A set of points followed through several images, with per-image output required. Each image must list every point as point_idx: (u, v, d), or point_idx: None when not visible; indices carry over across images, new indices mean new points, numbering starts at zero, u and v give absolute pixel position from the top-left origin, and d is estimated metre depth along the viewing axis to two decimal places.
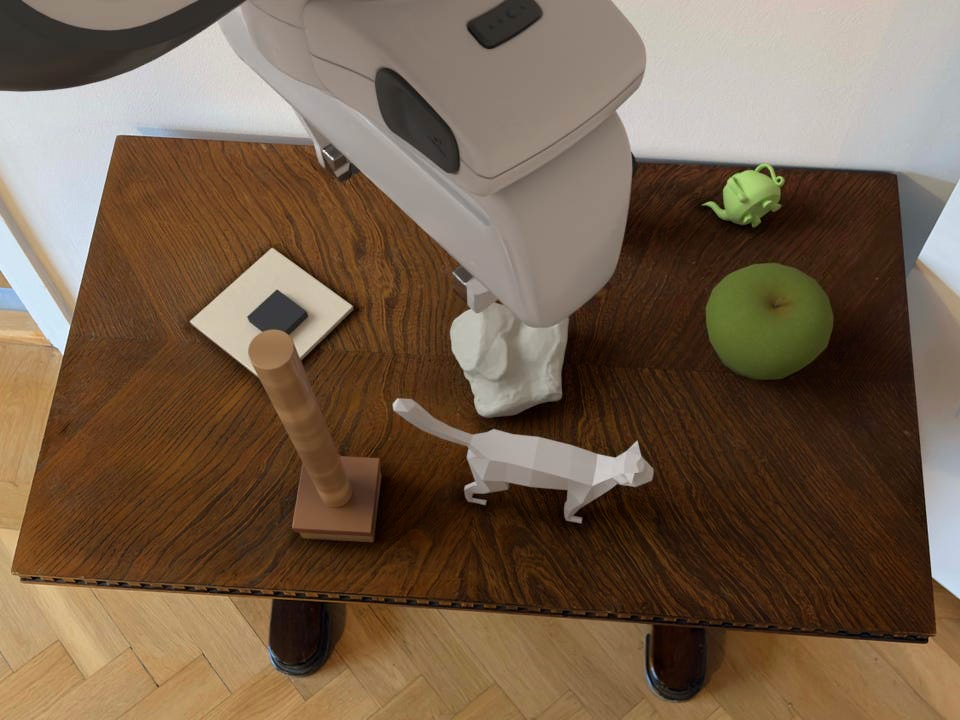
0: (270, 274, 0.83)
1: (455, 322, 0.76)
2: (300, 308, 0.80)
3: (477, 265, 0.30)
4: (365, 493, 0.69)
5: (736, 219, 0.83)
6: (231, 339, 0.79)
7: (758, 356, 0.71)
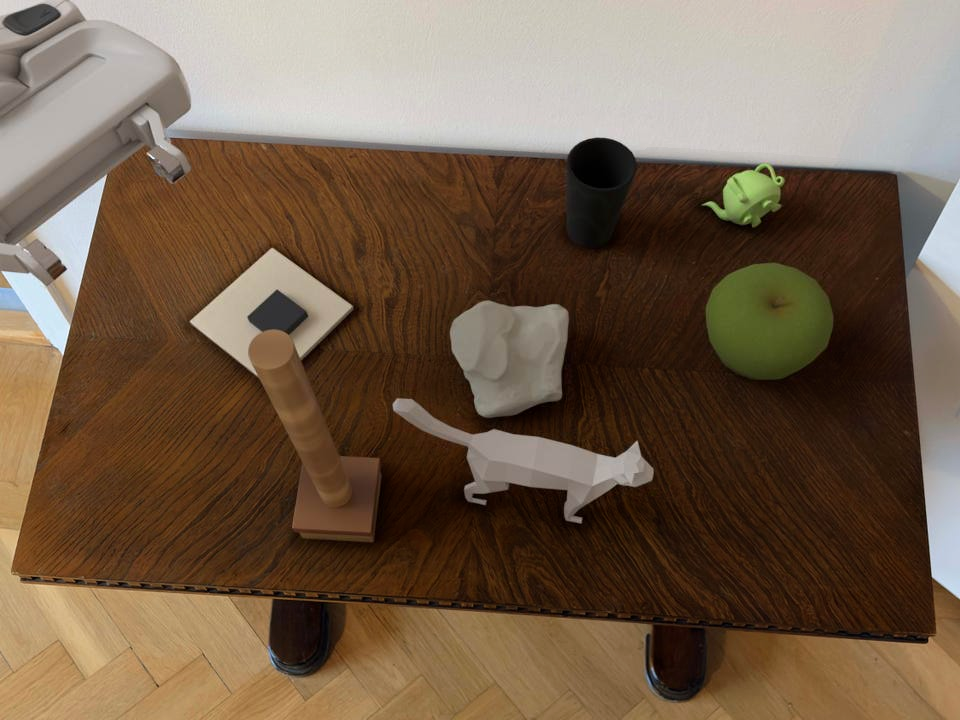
0: (270, 274, 0.83)
1: (455, 322, 0.76)
2: (300, 308, 0.80)
3: (127, 82, 0.52)
4: (365, 493, 0.69)
5: (736, 219, 0.83)
6: (231, 339, 0.79)
7: (758, 356, 0.71)
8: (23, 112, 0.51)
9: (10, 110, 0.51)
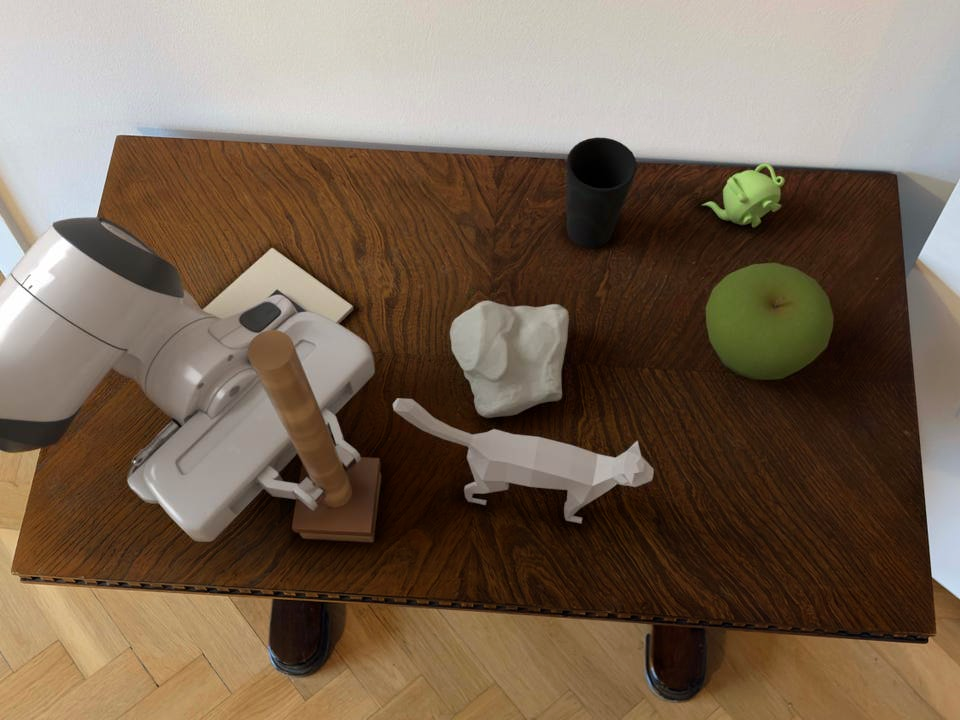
0: (270, 274, 0.83)
1: (455, 322, 0.76)
2: (300, 308, 0.80)
3: (335, 367, 0.68)
4: (365, 493, 0.69)
5: (736, 219, 0.83)
6: None
7: (758, 356, 0.71)
8: (258, 393, 0.67)
9: (248, 391, 0.67)
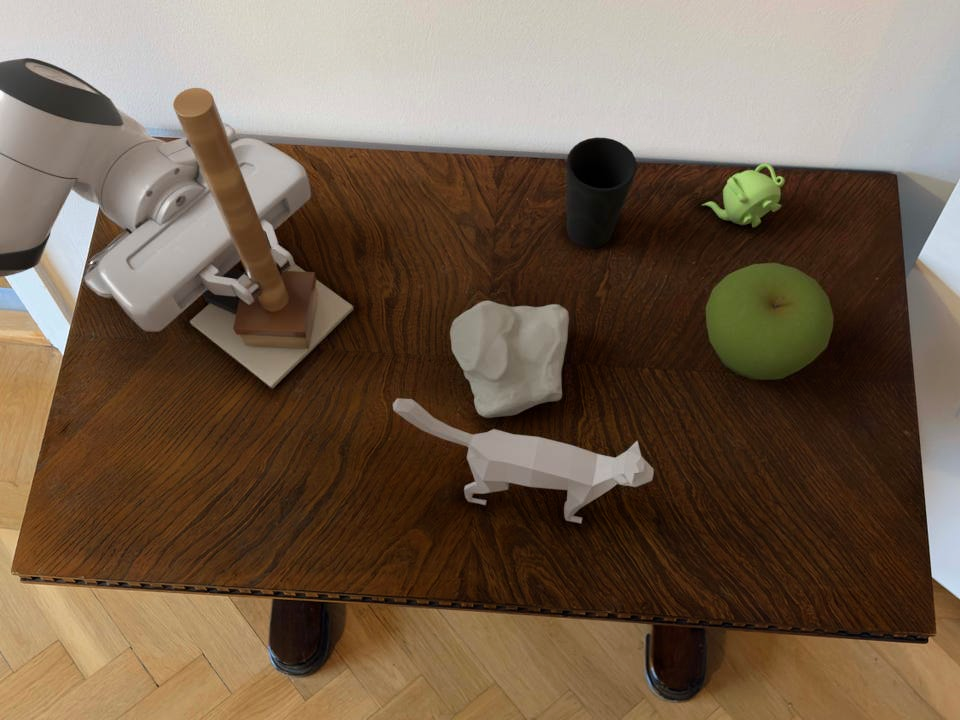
0: None
1: (455, 322, 0.76)
2: None
3: (272, 184, 0.76)
4: (300, 300, 0.77)
5: (736, 219, 0.83)
6: (231, 339, 0.79)
7: (758, 356, 0.71)
8: (203, 205, 0.75)
9: (193, 204, 0.75)
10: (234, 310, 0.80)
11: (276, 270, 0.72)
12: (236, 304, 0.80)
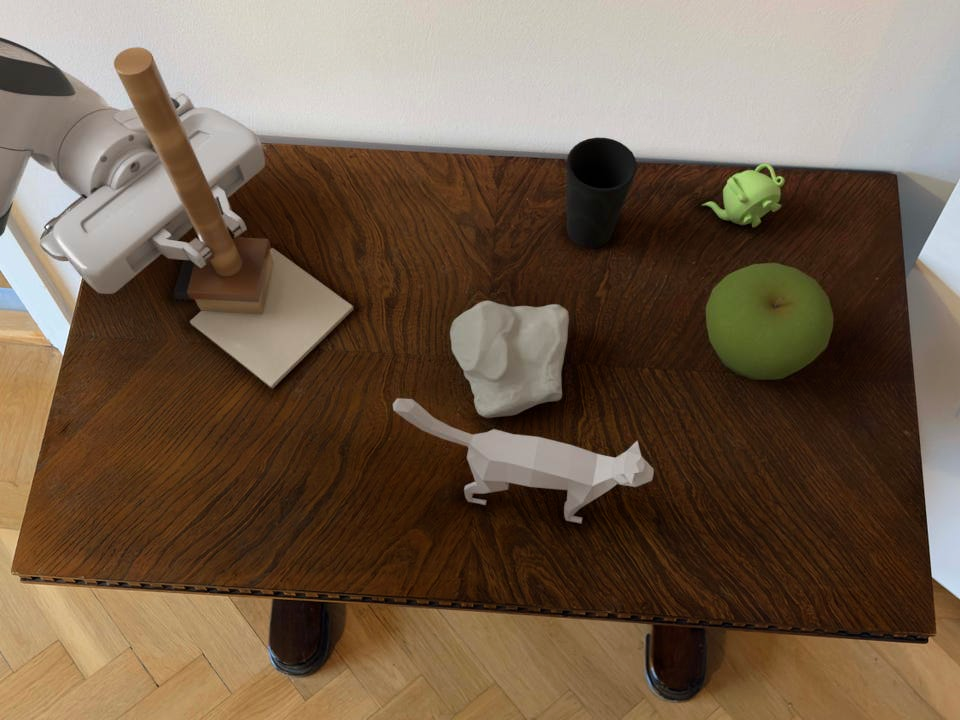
0: None
1: (455, 322, 0.76)
2: None
3: (226, 151, 0.77)
4: (253, 265, 0.79)
5: (736, 219, 0.83)
6: (231, 339, 0.79)
7: (758, 356, 0.71)
8: (157, 172, 0.77)
9: (148, 170, 0.77)
10: None
11: (227, 234, 0.74)
12: None
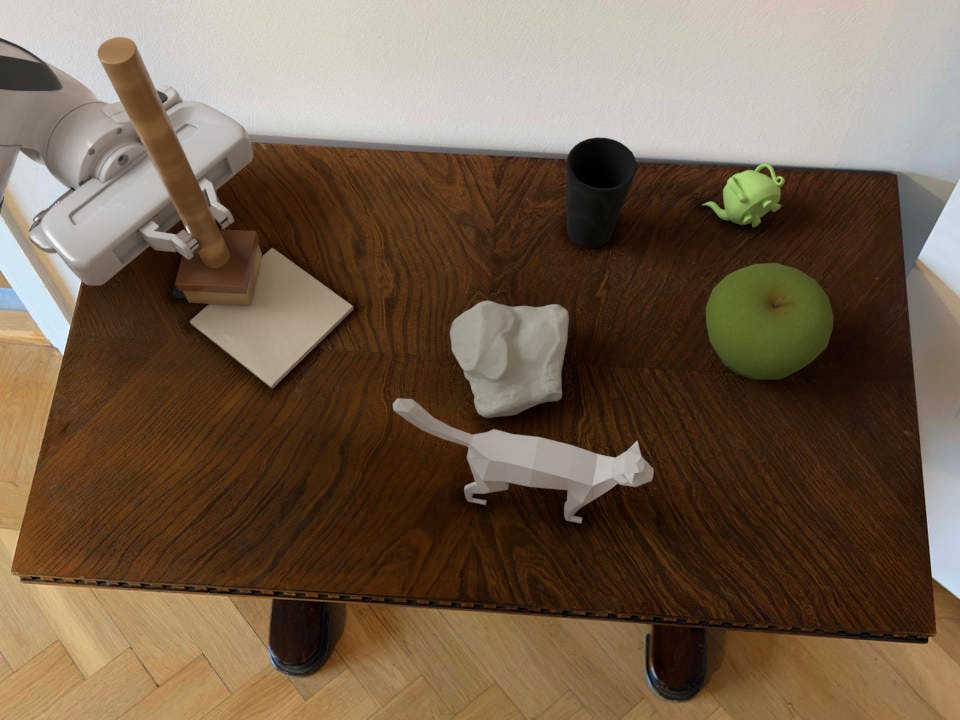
0: (270, 274, 0.83)
1: (455, 322, 0.76)
2: None
3: (213, 144, 0.78)
4: (241, 257, 0.79)
5: (736, 219, 0.83)
6: (231, 339, 0.79)
7: (758, 356, 0.71)
8: (145, 164, 0.77)
9: (136, 163, 0.77)
10: None
11: (214, 226, 0.74)
12: None
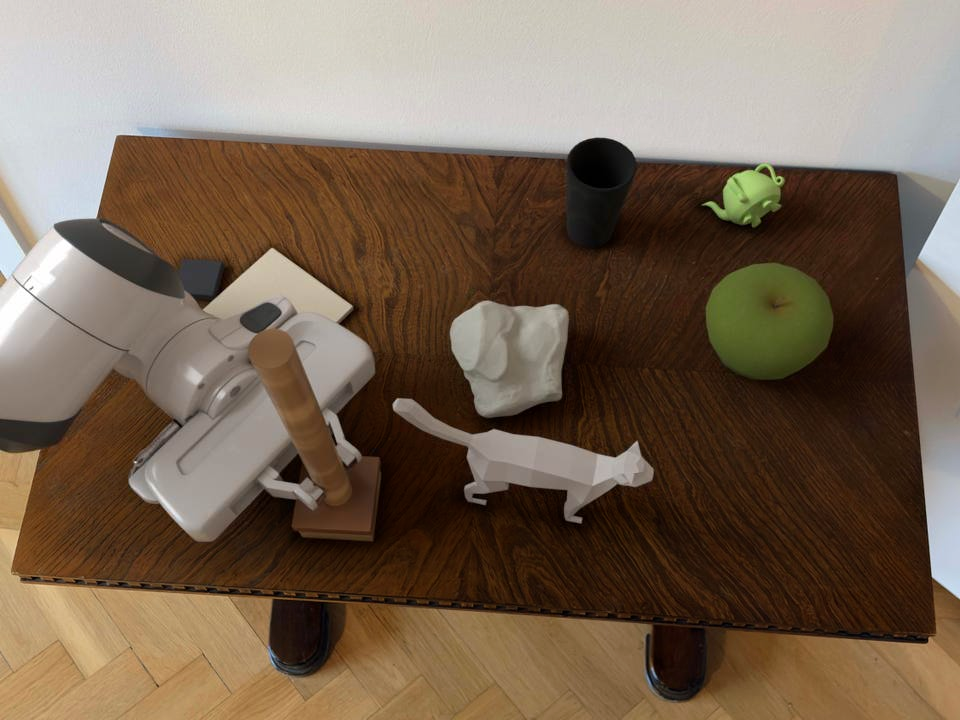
0: (270, 274, 0.83)
1: (455, 322, 0.76)
2: (215, 262, 0.83)
3: (335, 367, 0.68)
4: (365, 492, 0.69)
5: (736, 219, 0.83)
6: None
7: (758, 356, 0.71)
8: (259, 393, 0.67)
9: (249, 392, 0.67)
10: (208, 295, 0.81)
11: (342, 471, 0.65)
12: (208, 289, 0.81)
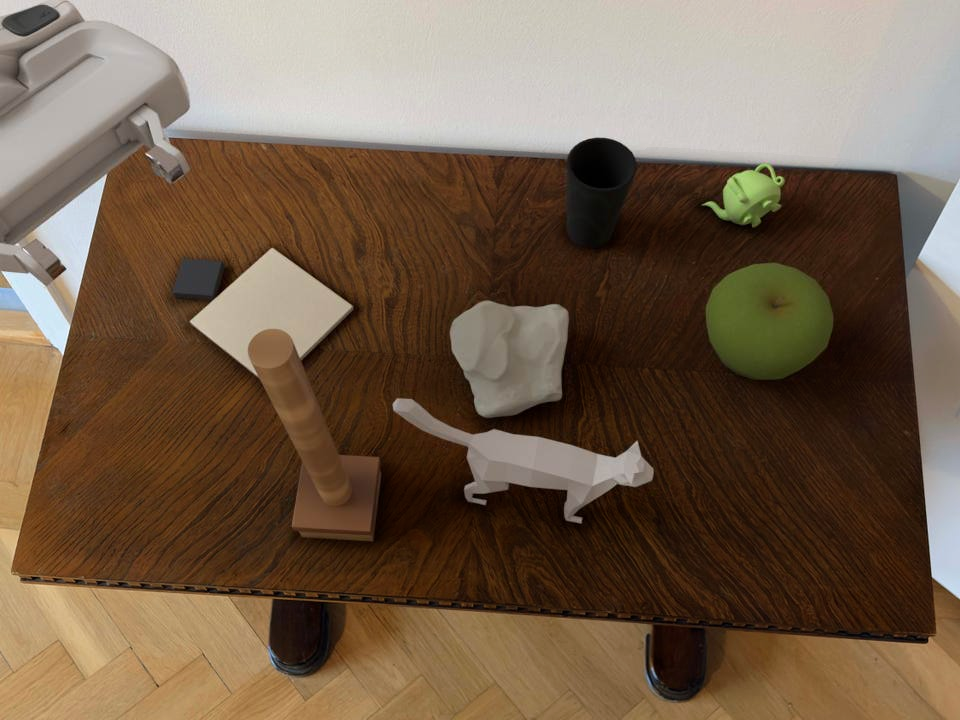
0: (270, 274, 0.83)
1: (455, 322, 0.76)
2: (215, 262, 0.83)
3: (126, 83, 0.52)
4: (365, 492, 0.69)
5: (736, 219, 0.83)
6: (231, 339, 0.79)
7: (758, 356, 0.71)
8: (22, 112, 0.51)
9: (9, 111, 0.51)
10: (208, 295, 0.81)
11: (342, 471, 0.65)
12: (208, 289, 0.81)
